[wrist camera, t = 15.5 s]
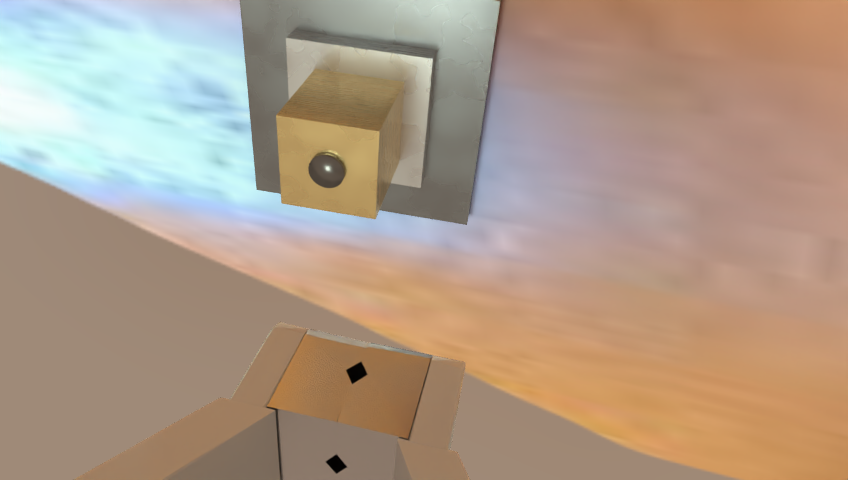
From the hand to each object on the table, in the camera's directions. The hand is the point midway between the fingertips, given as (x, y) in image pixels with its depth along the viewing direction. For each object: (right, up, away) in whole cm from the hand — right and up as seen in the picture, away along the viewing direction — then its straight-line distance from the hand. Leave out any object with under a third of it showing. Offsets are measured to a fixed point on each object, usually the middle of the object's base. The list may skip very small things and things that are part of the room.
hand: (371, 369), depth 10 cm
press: (-2, +14, +26) cm, 29 cm away
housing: (-3, +9, +26) cm, 28 cm away
